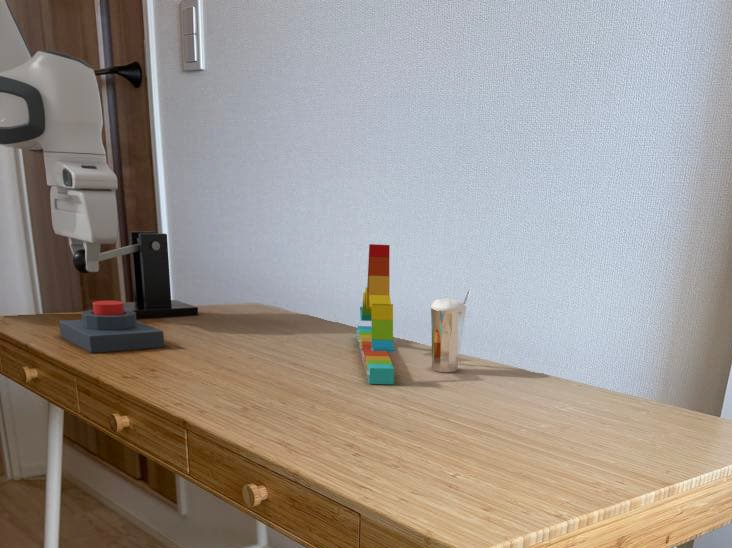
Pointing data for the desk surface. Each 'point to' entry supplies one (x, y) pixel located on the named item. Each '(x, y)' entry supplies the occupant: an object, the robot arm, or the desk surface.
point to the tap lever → (102, 255)
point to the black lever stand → (153, 279)
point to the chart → (377, 319)
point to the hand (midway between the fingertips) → (87, 269)
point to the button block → (111, 332)
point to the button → (108, 308)
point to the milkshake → (447, 333)
